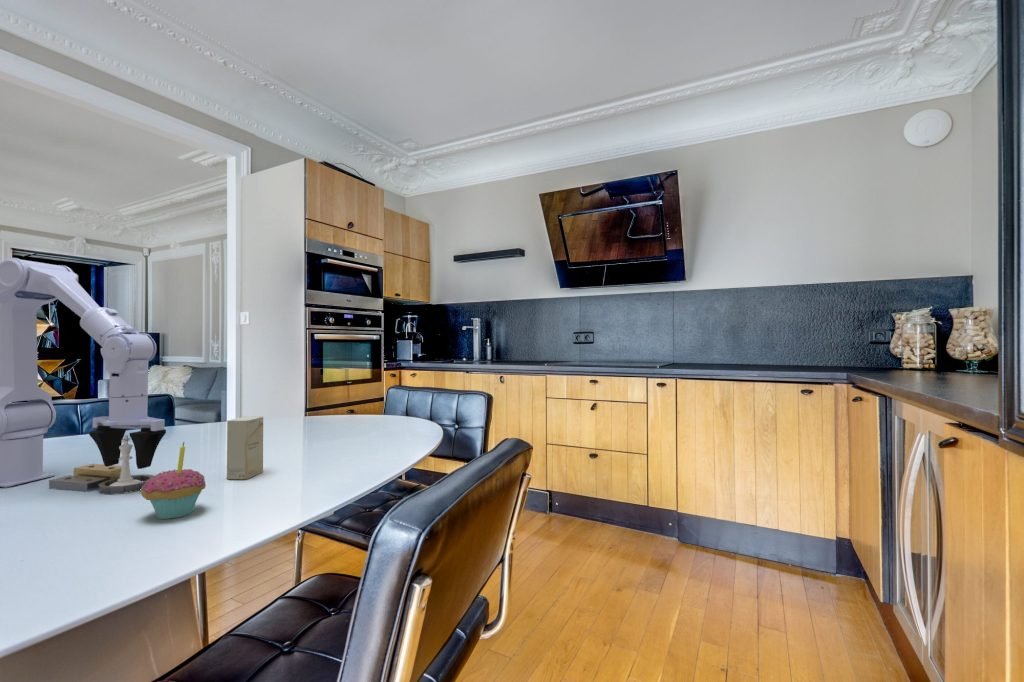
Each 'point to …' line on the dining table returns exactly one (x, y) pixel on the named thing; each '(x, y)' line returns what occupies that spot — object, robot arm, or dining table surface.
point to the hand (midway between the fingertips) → (127, 466)
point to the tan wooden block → (98, 471)
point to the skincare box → (244, 447)
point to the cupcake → (174, 490)
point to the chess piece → (125, 465)
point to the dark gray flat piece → (97, 484)
